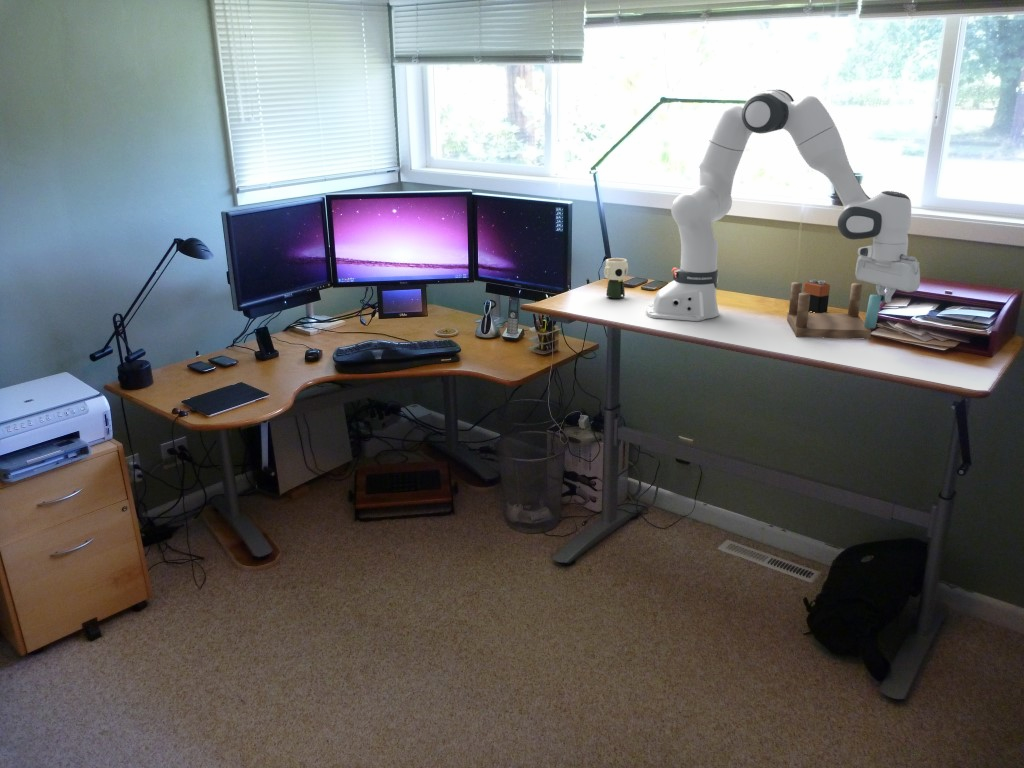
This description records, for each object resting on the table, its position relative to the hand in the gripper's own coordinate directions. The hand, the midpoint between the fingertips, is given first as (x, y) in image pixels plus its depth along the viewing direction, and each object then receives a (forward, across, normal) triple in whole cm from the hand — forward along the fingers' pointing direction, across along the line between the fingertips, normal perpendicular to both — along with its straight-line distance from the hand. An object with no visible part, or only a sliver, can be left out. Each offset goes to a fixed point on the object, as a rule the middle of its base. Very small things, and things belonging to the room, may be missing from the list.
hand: (884, 301), depth 233 cm
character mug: (+8, +73, +46) cm, 86 cm away
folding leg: (+7, +2, +3) cm, 8 cm away
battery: (+10, +31, -3) cm, 32 cm away
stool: (+10, +13, +8) cm, 18 cm away
